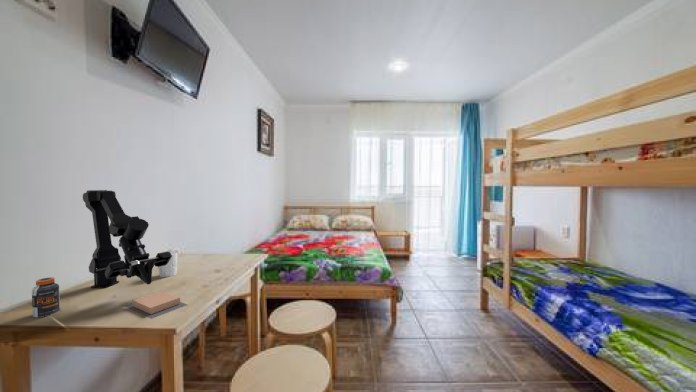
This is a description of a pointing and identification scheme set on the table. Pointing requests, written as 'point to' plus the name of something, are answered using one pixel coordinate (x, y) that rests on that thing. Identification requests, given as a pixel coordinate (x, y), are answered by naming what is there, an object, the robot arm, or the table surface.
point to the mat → (130, 305)
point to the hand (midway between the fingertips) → (149, 283)
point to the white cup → (169, 266)
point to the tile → (156, 302)
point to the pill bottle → (45, 297)
